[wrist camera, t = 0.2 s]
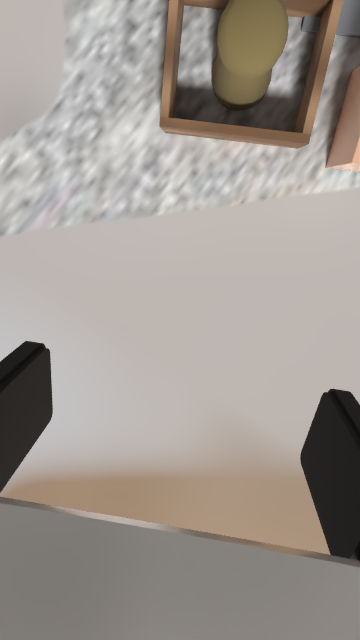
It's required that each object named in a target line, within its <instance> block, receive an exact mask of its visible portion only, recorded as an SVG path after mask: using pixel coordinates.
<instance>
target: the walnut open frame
mask: <svg viewBox="0 0 360 640" xmlns="http://www.w3.org/2000/svg"><path fill="white" fill-rule="evenodd" d="M229 1H230V0H169V9H168V22H167V35H166V48H165V61H164V74H163V87H162V100H161V113H160V127H161V128H162V130H163V131H164V132H165V133H173V134H181V135H189V136H198V137H206V138H214V139H223V140H231V141H239V142H248V143H256V144H264V145H273V146H281V147H289V148H300V147H303V146H305V145H307V144H309V140H310V136H311V132H312V128H313V124H314V120H315V115H316V111H317V107H318V103H319V99H320V95H321V91H322V87H323V83H324V79H325V75H326V70H327V66H328V62H329V58H330V54H331V50H332V46H333V42H334V38H335V34H336V29H337V25H338V21H339V17H340V13H341V9H342V5H343V1H344V0H282V1H283V3H284V5H285V7H286V10H287V16H294V17H303V18H304V16H305V15H306V16H315V17H321V19H320V24H319V28H318V31H317V33H316V38H315V42H314V47H313V51H312V55H311V60H310V64H309V69H308V73H307V78H306V82H305V86H304V91H303V95H302V100H301V104H300V109H299V113H298V118H297V122H296V126H295V131H294V132H287V131H279V130H270V129H262V128H253V127H245V126H236V125H228V124H219V123H211V122H202V121H194V120H185V119H177V118H174V108H175V97H176V86H177V76H178V65H179V54H180V43H181V32H182V21H183V10H184V5H187V6H197V7H207V8H216V9H225V8H226V6H227V5H228V3H229Z"/></svg>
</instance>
